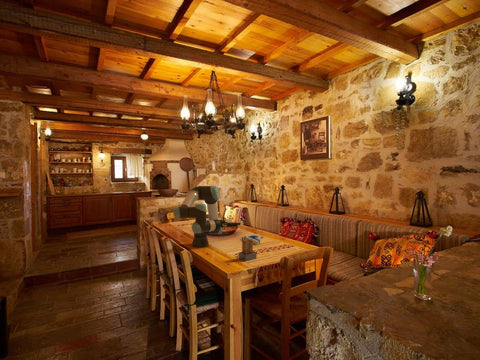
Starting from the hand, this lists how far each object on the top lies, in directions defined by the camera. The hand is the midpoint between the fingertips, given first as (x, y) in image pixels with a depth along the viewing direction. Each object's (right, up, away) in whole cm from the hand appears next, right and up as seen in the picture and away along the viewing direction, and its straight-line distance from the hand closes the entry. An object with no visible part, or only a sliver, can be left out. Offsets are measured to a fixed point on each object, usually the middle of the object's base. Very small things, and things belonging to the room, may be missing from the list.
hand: (237, 221), depth 198 cm
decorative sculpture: (+16, -29, +61) cm, 69 cm away
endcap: (+8, -30, +7) cm, 32 cm away
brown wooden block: (+8, -29, +7) cm, 31 cm away
